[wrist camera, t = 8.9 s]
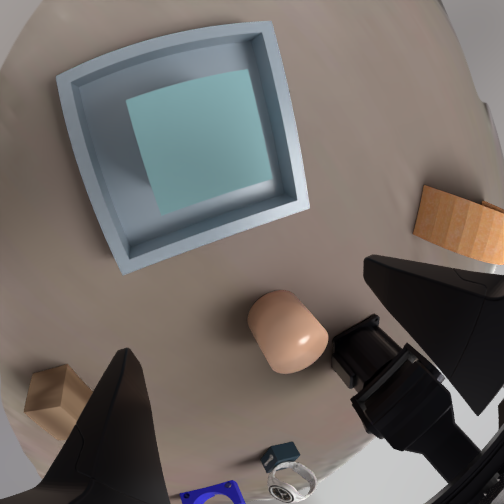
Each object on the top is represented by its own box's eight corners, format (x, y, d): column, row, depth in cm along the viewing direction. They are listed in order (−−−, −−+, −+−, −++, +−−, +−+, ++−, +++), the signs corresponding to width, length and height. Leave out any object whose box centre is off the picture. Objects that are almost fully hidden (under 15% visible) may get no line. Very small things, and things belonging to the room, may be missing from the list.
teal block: (216, 89, 15) (248, 69, 9) (234, 163, 17) (272, 179, 12) (135, 112, 14) (125, 100, 8) (158, 188, 16) (161, 215, 11)
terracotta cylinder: (295, 281, 23) (327, 314, 19) (301, 322, 26) (328, 356, 22) (241, 303, 22) (263, 343, 18) (253, 343, 25) (275, 382, 21)
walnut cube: (67, 363, 19) (60, 406, 15) (96, 395, 21) (95, 435, 17) (33, 372, 18) (23, 412, 14) (62, 402, 20) (58, 440, 16)
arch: (423, 182, 25) (501, 212, 16) (483, 200, 32) (531, 222, 23) (411, 233, 27) (482, 273, 18) (474, 234, 34) (520, 259, 25)
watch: (260, 448, 36) (286, 502, 26) (301, 439, 39) (329, 486, 30) (250, 461, 38) (273, 511, 28) (289, 453, 41) (314, 497, 32)
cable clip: (188, 496, 40) (195, 517, 35) (179, 492, 38) (186, 515, 33) (238, 483, 43) (247, 504, 38) (232, 479, 40) (241, 502, 35)
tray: (256, 32, 14) (271, 21, 12) (292, 199, 20) (309, 208, 18) (67, 83, 11) (55, 76, 9) (125, 258, 18) (122, 275, 15)
